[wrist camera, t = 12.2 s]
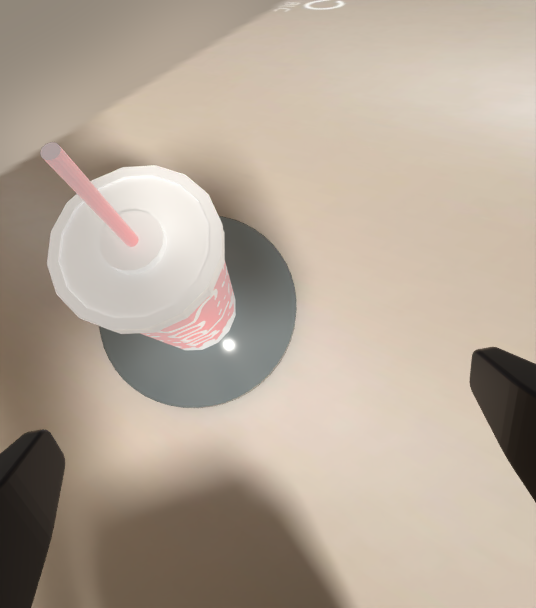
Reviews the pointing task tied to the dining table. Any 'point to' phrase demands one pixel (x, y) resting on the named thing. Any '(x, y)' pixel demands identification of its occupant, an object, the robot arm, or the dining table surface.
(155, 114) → the dining table surface
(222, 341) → the coaster
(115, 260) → the beverage cup
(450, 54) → the dining table surface
